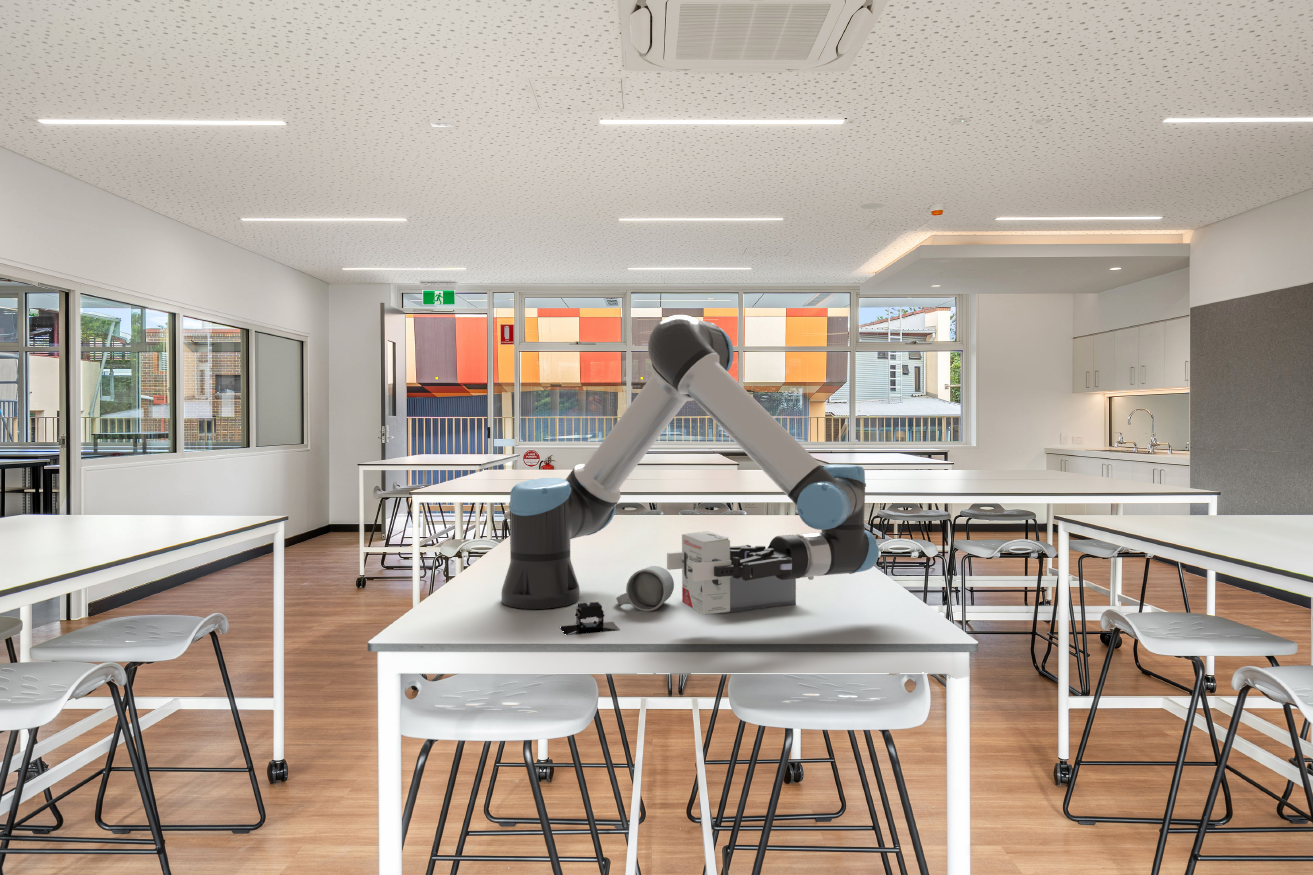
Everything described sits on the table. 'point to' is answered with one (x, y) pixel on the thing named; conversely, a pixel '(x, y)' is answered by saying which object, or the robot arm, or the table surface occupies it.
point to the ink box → (709, 592)
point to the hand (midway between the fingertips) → (680, 566)
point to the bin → (761, 593)
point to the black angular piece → (589, 627)
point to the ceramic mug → (648, 588)
